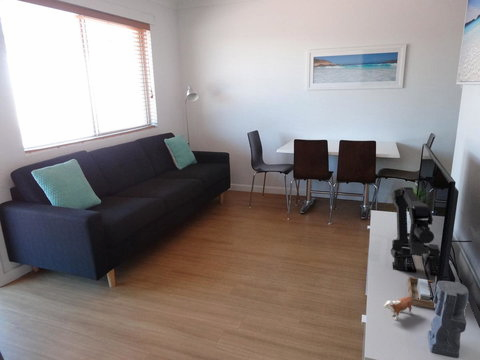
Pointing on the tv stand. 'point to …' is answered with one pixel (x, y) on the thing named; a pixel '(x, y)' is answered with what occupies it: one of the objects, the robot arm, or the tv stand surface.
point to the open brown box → (414, 294)
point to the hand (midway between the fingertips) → (413, 264)
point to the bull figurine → (399, 306)
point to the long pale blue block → (423, 290)
